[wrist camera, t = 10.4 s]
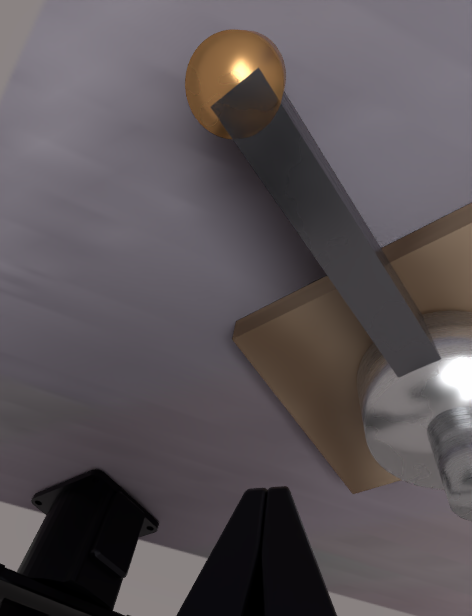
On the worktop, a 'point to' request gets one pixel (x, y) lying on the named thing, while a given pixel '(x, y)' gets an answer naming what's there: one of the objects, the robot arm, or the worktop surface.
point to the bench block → (350, 342)
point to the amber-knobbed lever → (349, 270)
